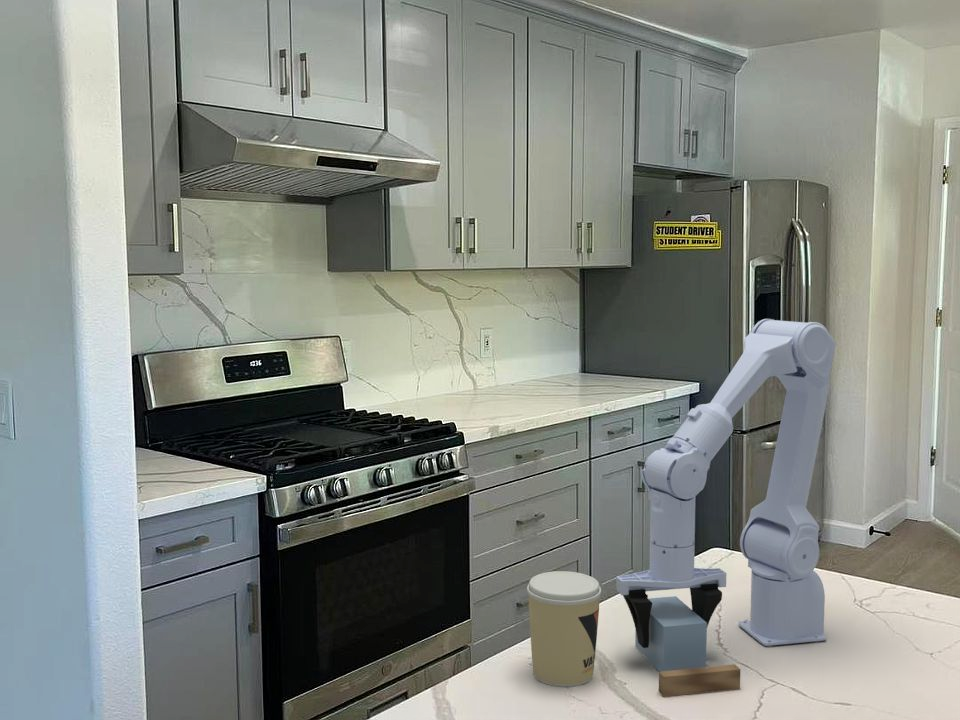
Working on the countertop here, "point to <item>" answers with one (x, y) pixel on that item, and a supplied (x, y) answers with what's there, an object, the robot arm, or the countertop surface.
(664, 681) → the brown rectangular block
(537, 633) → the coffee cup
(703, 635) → the blue-grey rectangular block
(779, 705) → the countertop surface
